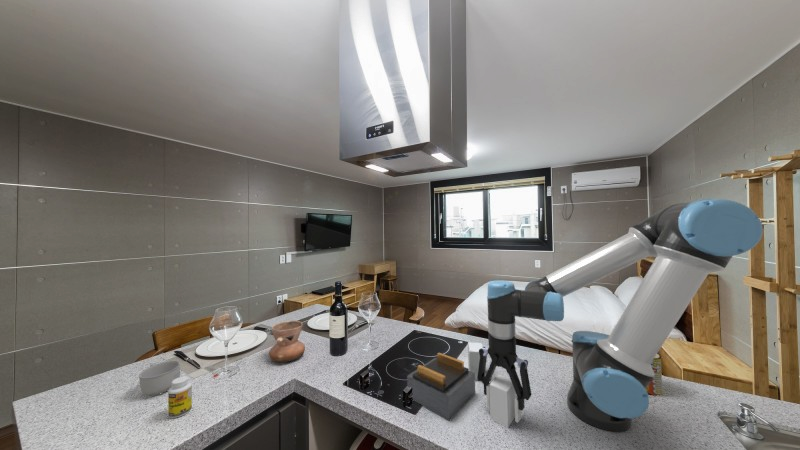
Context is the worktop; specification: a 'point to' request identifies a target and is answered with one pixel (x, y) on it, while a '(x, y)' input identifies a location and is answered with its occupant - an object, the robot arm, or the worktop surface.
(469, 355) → the small box
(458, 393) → the grey fixture base
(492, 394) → the block
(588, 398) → the robot arm
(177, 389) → the supplement bottle
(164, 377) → the gray oval bowl
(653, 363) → the beverage can
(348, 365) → the worktop surface
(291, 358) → the ceramic jug
